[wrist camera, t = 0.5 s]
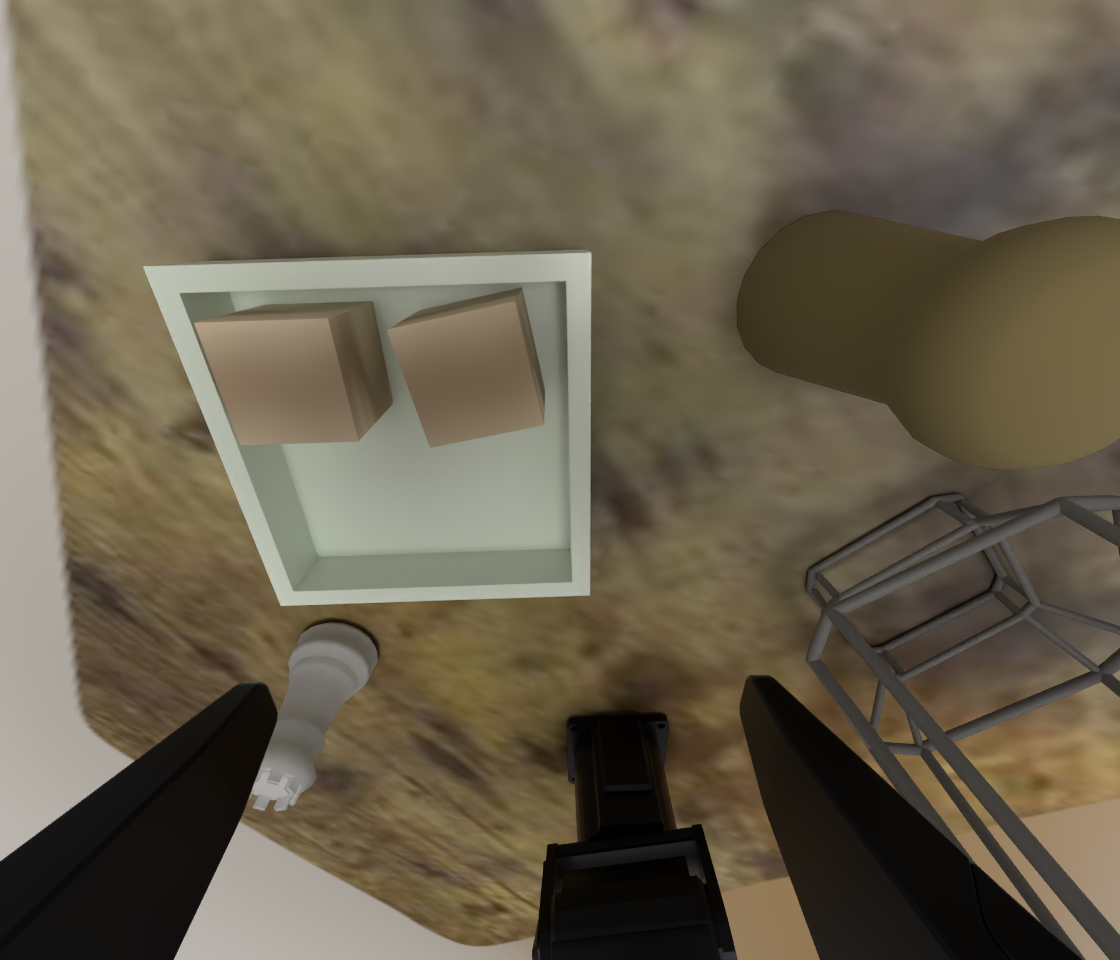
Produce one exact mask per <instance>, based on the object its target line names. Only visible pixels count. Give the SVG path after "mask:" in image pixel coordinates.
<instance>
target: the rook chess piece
mask: <svg viewBox="0 0 1120 960" xmlns="http://www.w3.org/2000/svg"><path fill="white" fill-rule="evenodd" d="M377 662H378V660H377V650H376V648H375V646H374V644H373V642H372V641H371V639H370V637H369V636H368V635H367V634H366V633H364V632H363V631H362V630H360V629H359V628H357V627H354V626H352V625H349V624H346V623H339V622H329V623H324V624H319V625H316V626H313V627H311V628H309V629H308V630H306V631H305V632H304V633H302V634H301V635H300V637H299V639H298V642H297V644H296V647H294V649H293V651H292V654H291V656H290V658H289V663H288V665H289V670H290V673H289V675H288V679H289V687H288V691H287V694H286V696H285V699H284V701H283V704H282V706H281V709H280V711H279V713H278V718H277V723H276V726H275V729H274V732H273V734H272V737H271V740H270V743H269V745H268V748H267V751H266V753H265V756H264V759H263V762H262V764H261V767H260V770H259V772H258V775H257V778H256V780H255V783H254V786H253V789H252V791H251V794H250V796H251V795H252V794H254V795H256V796H258V798H257V800H256V802H255V804H254V806H253V808H254V809H258V810H262V811H264V810H265V808H266V806H267V804H268V802H269V800H277V802H276V804H275V806H274V809H275V811H276V812H278V811H283V810H287V807H288V805H289V804H290V805H292V806H294V805H295V803H296V801H297V799H298V797H299V795H300V793H302V792H303V791H305V790H306V789H308V788H309V787H311V786H312V785H313V783H314V781H315V780H316V774H315V769H314V764H313V759H314V756H315V755H316V754H318V753H319V752H321V751H322V750H323V748H324V746H325V739H324V736H325V734H326V731H327V729H328V727H329V725H330V723H331V722H332V720H333V718H334V717H335V715H336V714H337V712H338V710H339V709H340V707H341V706H342V705H343V704H344V702H345V701H347V700H348V699H350V698H352V696H353V694H354V693H356V692H357V691H359V690H360V689H362V688H363V687H364V685H365V684H366V683H367V681H368V679H369V677H370V676H371V672H372V671H373V669H374V667H375V666H376V664H377ZM249 798H250V797H249ZM248 800H249V799H248Z"/></svg>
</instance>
